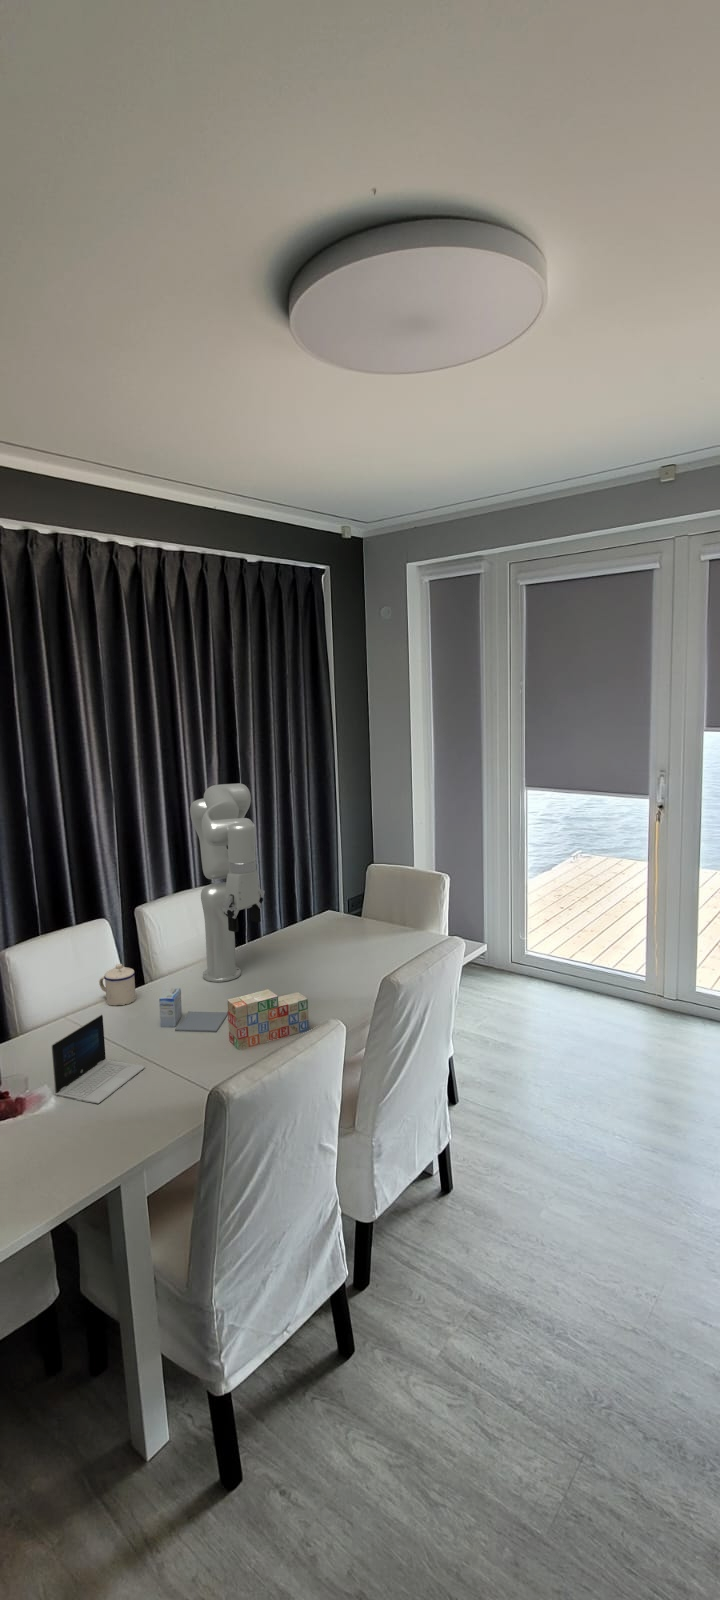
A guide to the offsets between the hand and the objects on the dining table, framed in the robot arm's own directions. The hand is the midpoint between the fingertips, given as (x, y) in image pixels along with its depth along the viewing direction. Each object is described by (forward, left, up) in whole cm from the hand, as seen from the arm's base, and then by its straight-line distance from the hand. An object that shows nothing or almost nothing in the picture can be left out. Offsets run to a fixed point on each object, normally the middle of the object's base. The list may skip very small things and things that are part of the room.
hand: (244, 926), depth 209 cm
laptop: (+35, -28, -29) cm, 53 cm away
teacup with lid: (-13, -45, -29) cm, 55 cm away
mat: (+1, -13, -28) cm, 32 cm away
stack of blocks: (+8, +8, -29) cm, 31 cm away
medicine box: (+1, -23, -29) cm, 37 cm away
